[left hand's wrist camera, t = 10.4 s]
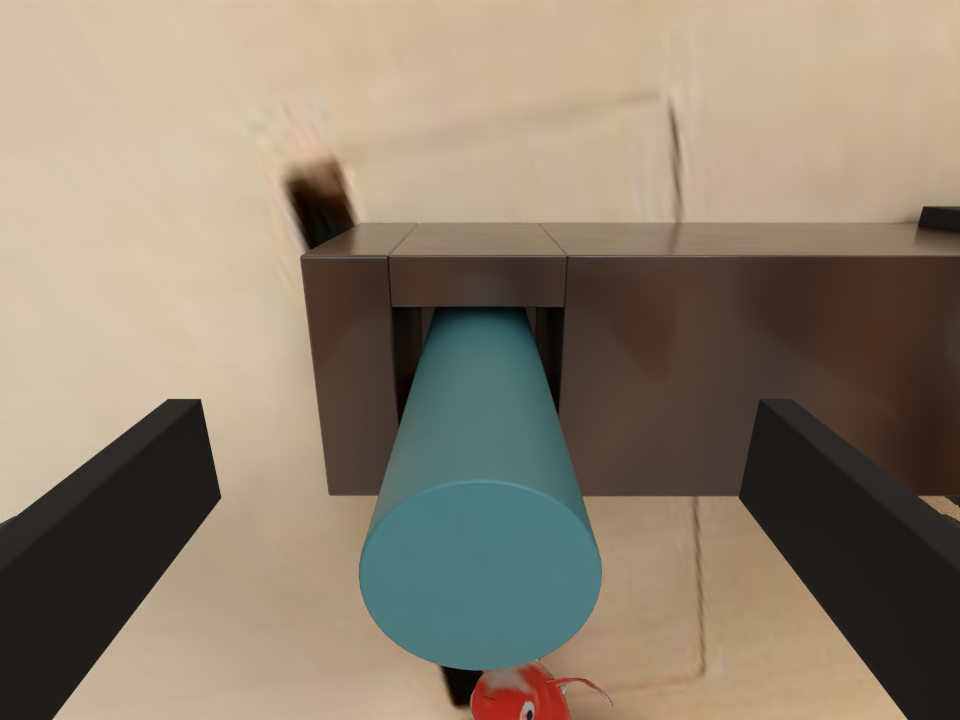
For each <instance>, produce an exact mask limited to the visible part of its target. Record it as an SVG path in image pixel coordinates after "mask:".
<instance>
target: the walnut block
mask: <svg viewBox="0 0 960 720" xmlns="http://www.w3.org/2000/svg"><path fill="white" fill-rule="evenodd" d="M918 224H919V223H539V224H538V223H419V224H418V223H360V224H359V225H357V226H355V227H353V228H351V229H349V230H347V231H346V232H344V233H342V234H340V235H338V236H336V237H334V238H333V239H331V240H329V241H327V242H325V243H323V244H322V245H320V246H318V247H316V248H314V249H312V250H310V251H309V252H307V253H305V254H303V255H301V257H300V261H301V270H302V278H303V286H304V294H305V303H306V311H307V319H308V327H309V336H310V344H311V352H312V360H313V369H314V377H315V385H316V393H317V402H318V410H319V418H320V426H321V435H322V443H323V451H324V459H325V468H326V476H327V484H328V492H329V495H331V496H379V493H380V490H381V486H382V483H383V480H384V476H385V473H386V470H387V466H388V463H389V460H390V456H391V453H392V450H393V447H394V443H395V440H396V437H397V433H398V430H399V427H400V423H401V420H402V417H403V413H404V410H405V407H406V403H407V400H408V397H409V393H410V390H411V387H412V383H413V380H414V377H415V373H416V370H417V367H418V363H419V360H420V357H421V353H422V350H423V347H424V343H425V340H426V337H427V333H428V330H429V327H430V323H431V320H432V317H433V313H434V310H435V307H525V309H526V313H527V316H528V319H529V323H530V326H531V329H532V333H533V336H534V339H535V343H536V346H537V349H538V352H539V356H540V359H541V362H542V366H543V369H544V372H545V376H546V379H547V382H548V385H549V389H550V392H551V395H552V399H553V402H554V405H555V409H556V412H557V415H558V419H559V422H560V425H561V428H562V432H563V435H564V438H565V442H566V445H567V448H568V452H569V455H570V458H571V461H572V465H573V468H574V471H575V475H576V478H577V481H578V485H579V488H580V491H581V495H582V496H739V494H740V489H741V484H742V480H743V475H744V470H745V465H746V460H747V456H748V451H749V446H750V441H751V436H752V432H753V427H754V422H755V417H756V412H757V408H758V403H759V399H792V400H794V401H795V402H796V403H798V404H799V405H800V406H801V407H803V408H804V409H805V410H807V411H808V412H809V413H810V414H812V415H813V416H814V417H816V418H817V419H818V420H820V421H821V422H822V423H823V424H825V425H826V426H827V427H829V428H830V429H831V430H833V431H834V432H835V433H836V434H838V435H839V436H840V437H842V438H843V439H844V440H845V441H847V442H848V443H849V444H851V445H852V446H853V447H855V448H856V449H857V450H858V451H860V452H861V453H862V454H864V455H865V456H866V457H868V458H869V459H870V460H871V461H873V462H874V463H875V464H877V465H878V466H879V467H880V468H882V469H883V470H884V471H886V472H887V473H888V474H890V475H891V476H892V477H893V478H895V479H896V480H897V481H899V482H900V483H901V484H903V485H904V486H905V487H906V488H908V489H909V490H910V491H912V492H913V493H914V494H915V495H917V496H960V232H956V231H949V230H942V229H936V228H929V227H923V226H918Z"/></svg>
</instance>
